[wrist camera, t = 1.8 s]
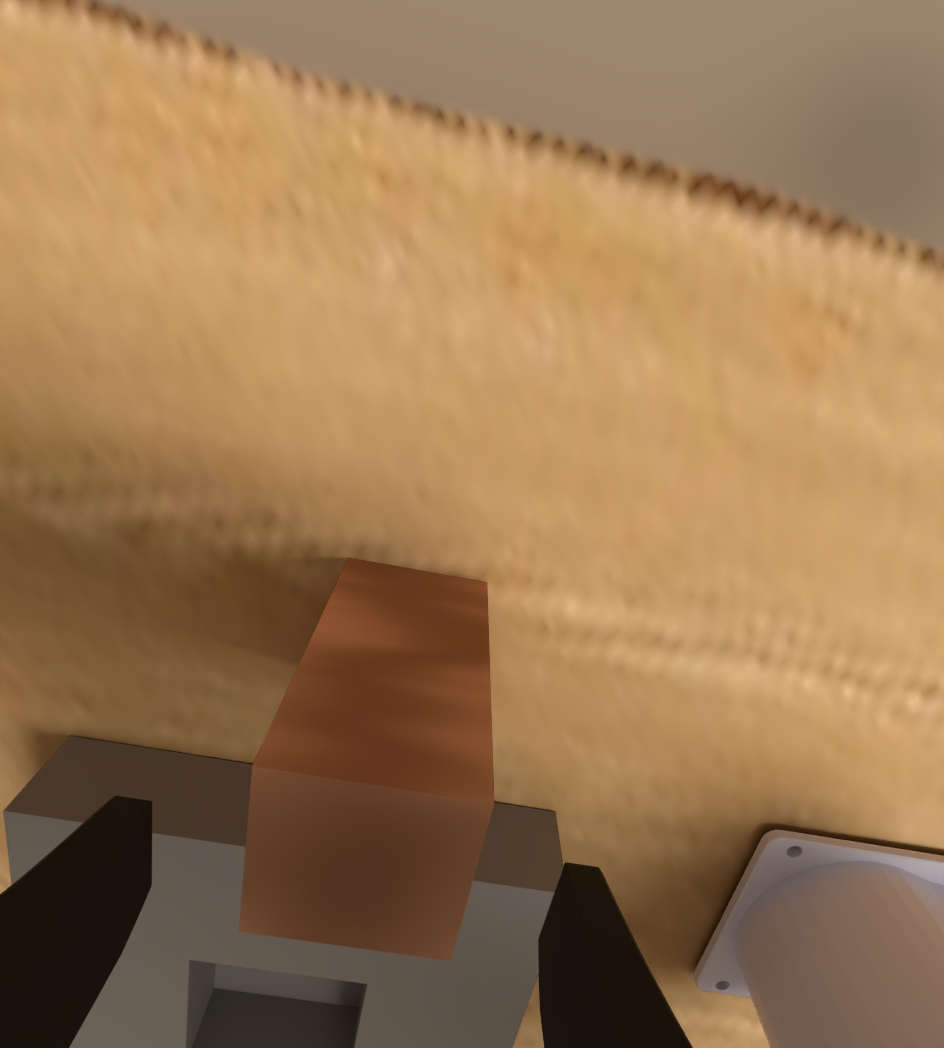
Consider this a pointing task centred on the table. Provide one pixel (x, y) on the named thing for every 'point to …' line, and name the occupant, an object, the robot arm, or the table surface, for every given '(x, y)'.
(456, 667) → the square peg
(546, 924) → the robot arm
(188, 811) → the socket block
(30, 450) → the table surface
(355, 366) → the table surface
